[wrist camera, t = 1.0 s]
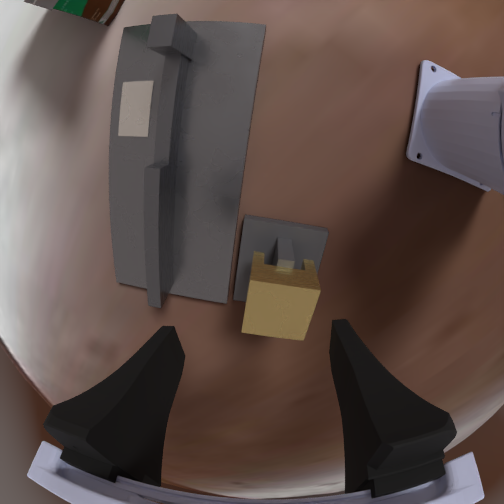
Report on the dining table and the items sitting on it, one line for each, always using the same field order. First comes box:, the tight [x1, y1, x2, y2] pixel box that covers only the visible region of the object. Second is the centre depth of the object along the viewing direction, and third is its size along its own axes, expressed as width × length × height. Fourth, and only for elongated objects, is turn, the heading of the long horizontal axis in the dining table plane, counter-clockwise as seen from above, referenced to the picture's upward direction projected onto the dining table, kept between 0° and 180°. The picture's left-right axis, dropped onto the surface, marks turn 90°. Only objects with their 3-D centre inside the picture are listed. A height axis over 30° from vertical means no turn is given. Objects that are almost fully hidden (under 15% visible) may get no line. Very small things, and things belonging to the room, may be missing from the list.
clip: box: [241, 251, 321, 340], centre depth 18 cm, size 4×4×4 cm
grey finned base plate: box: [233, 215, 329, 302], centre depth 20 cm, size 6×7×4 cm
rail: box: [109, 14, 266, 308], centre depth 16 cm, size 10×21×5 cm, turn 172°
